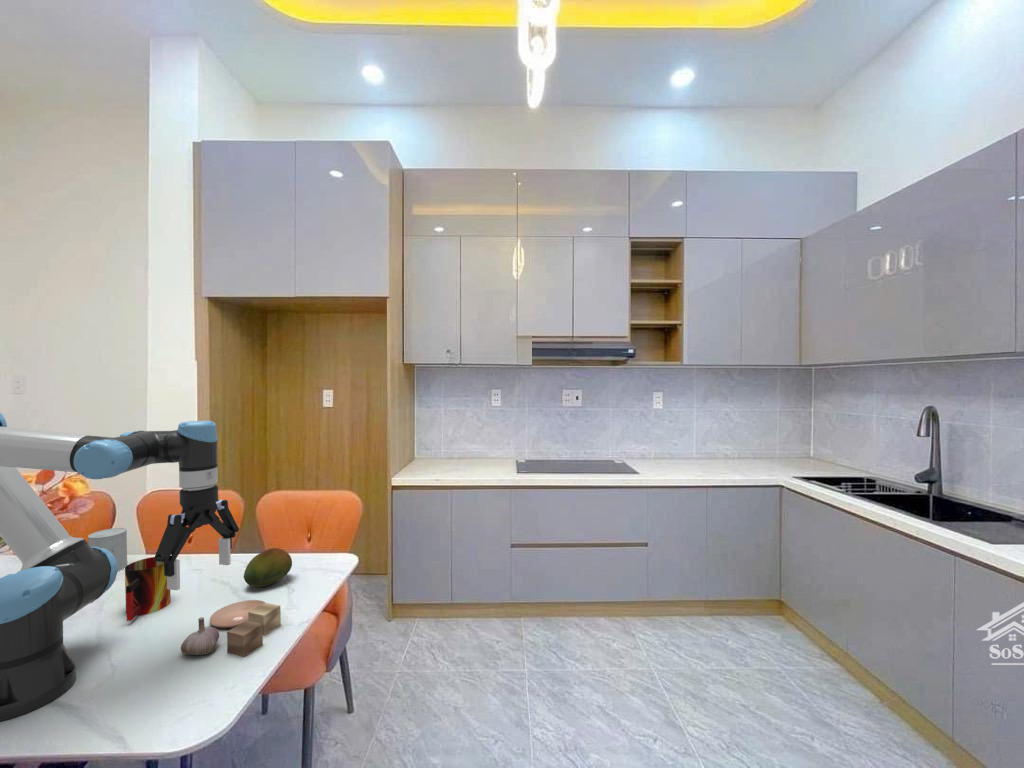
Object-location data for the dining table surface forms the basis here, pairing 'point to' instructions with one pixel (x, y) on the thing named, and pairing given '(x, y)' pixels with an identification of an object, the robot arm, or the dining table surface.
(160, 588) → the mug
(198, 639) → the garlic bulb
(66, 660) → the robot arm
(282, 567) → the fruit
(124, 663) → the dining table surface
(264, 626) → the oak block
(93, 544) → the grey concrete cylinder
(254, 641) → the walnut block
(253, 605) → the peach ellipsoid
